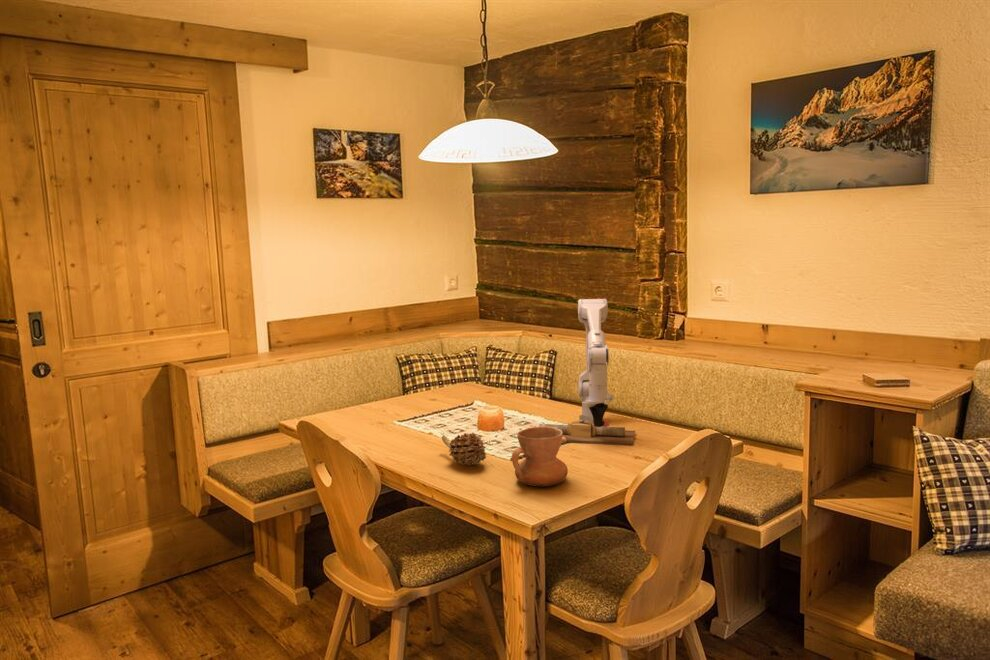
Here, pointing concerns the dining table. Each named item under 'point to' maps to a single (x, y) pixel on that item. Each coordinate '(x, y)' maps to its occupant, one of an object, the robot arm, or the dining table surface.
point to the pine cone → (466, 449)
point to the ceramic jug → (539, 457)
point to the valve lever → (590, 419)
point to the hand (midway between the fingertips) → (598, 426)
